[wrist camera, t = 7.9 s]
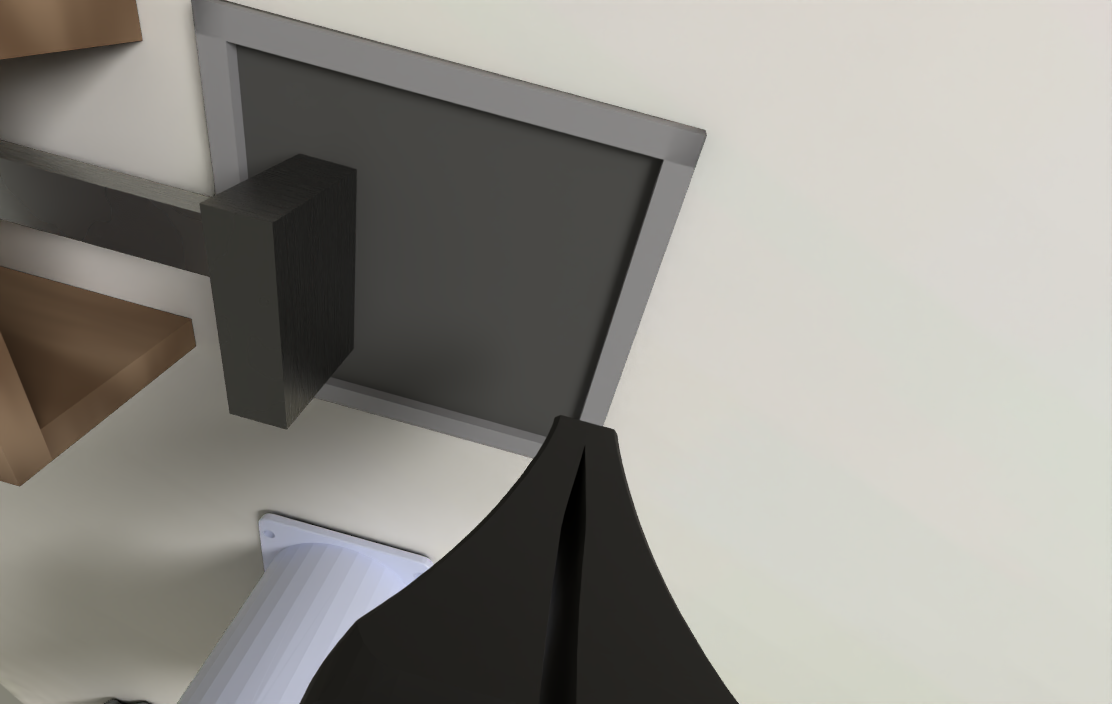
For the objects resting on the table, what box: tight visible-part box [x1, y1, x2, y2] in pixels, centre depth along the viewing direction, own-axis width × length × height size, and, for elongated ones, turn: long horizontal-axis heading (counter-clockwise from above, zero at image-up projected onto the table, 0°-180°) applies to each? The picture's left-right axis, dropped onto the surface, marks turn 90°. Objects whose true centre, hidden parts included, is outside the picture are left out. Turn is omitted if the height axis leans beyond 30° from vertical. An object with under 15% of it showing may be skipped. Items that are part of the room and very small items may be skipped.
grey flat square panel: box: [191, 0, 707, 458], centre depth 18 cm, size 12×13×1 cm
